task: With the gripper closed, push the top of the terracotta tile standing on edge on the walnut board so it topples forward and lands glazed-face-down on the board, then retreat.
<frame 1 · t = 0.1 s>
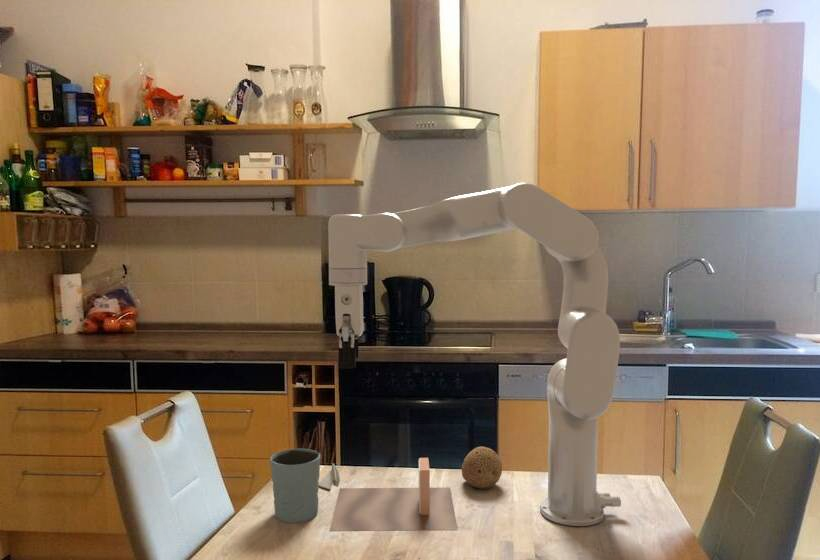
hand: (349, 363, 127), 31 cm above the table, tool pointing down, fingers open, 9 cm apart
tile: (424, 507, 130), point 1 cm above the table, touching board
natural sponge: (481, 493, 141), on the table
board: (394, 514, 130), on the table
ceramic fragment: (333, 485, 146), on the table
grey green cup: (296, 514, 130), on the table
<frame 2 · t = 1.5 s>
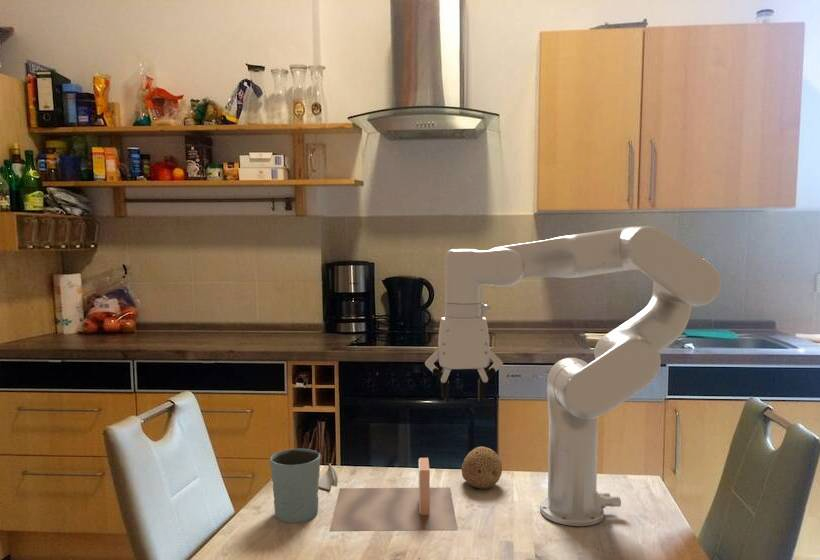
hand: (463, 399, 128), 24 cm above the table, tool pointing down, fingers open, 6 cm apart
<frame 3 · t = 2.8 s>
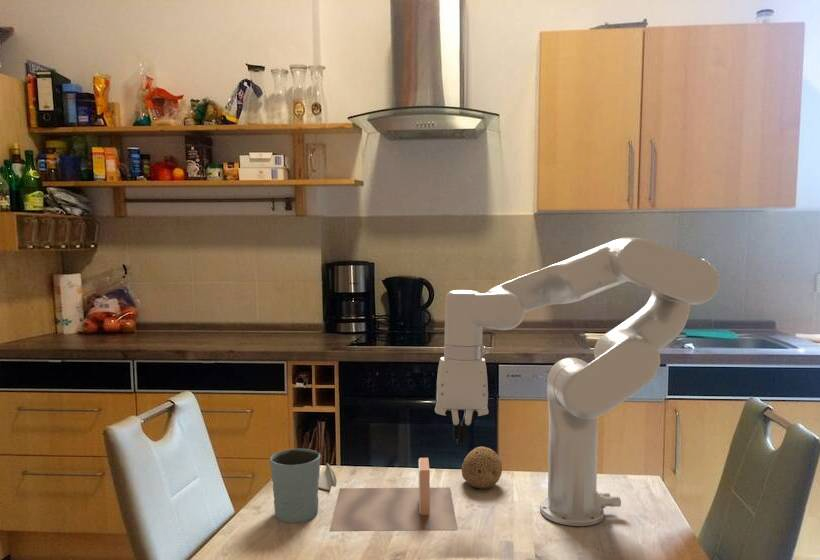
hand: (460, 442, 129), 15 cm above the table, tool pointing down, fingers closed
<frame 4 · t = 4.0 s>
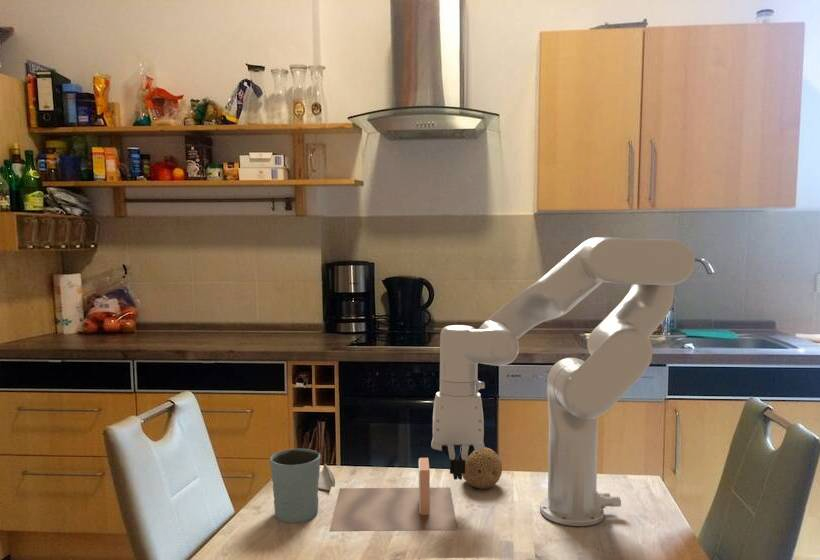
hand: (457, 476, 129), 8 cm above the table, tool pointing down, fingers closed
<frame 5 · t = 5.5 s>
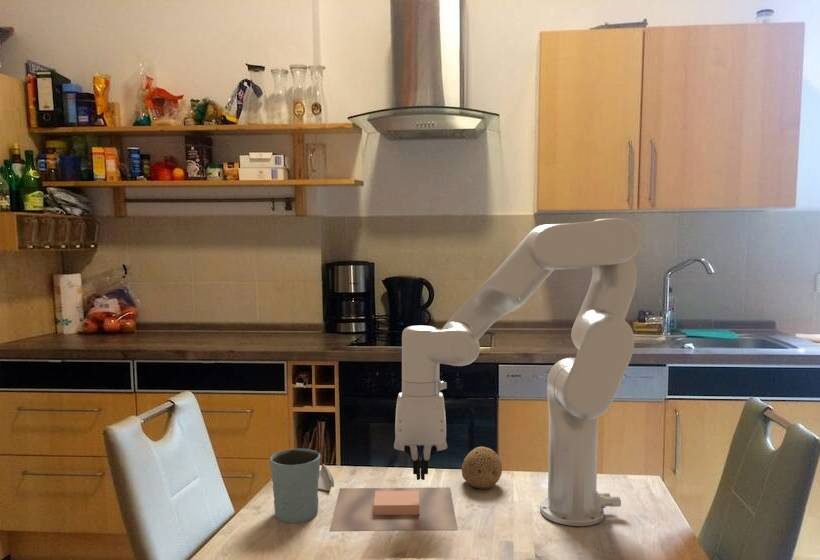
hand: (420, 477, 129), 8 cm above the table, tool pointing down, fingers closed
tile: (419, 502, 129), point 2 cm above the table, tilted 90°, touching board
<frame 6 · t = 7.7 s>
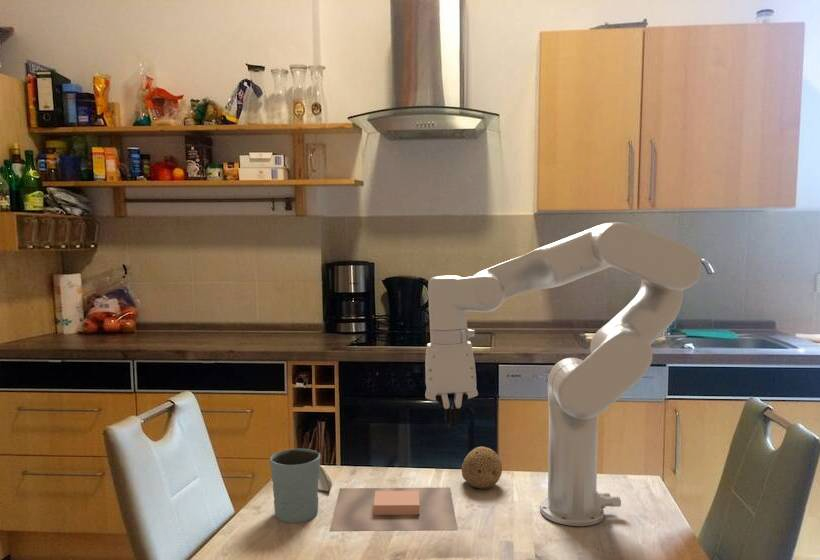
hand: (452, 425, 130), 18 cm above the table, tool pointing down, fingers closed
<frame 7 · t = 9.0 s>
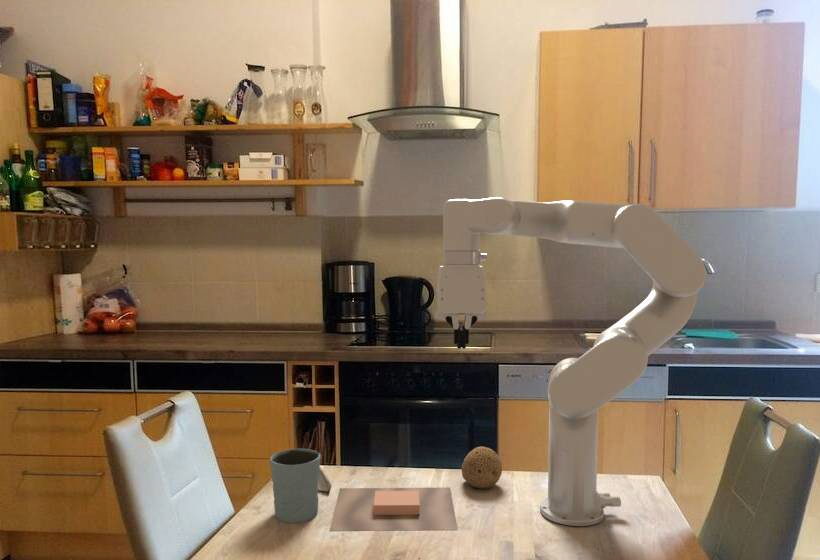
hand: (461, 347, 133), 33 cm above the table, tool pointing down, fingers closed
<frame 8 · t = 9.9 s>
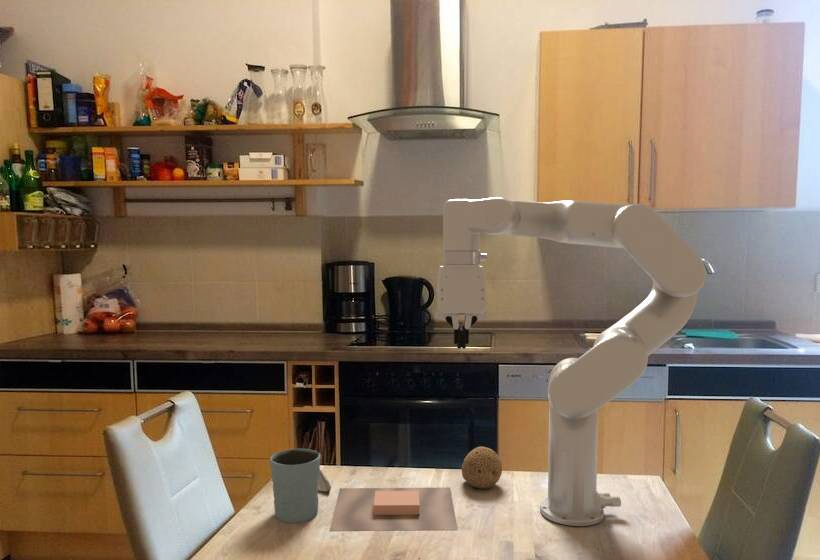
hand: (461, 347, 133), 33 cm above the table, tool pointing down, fingers closed
at the end: tile tilted 90°; tile inside the target area (6.5 cm from its centre), point 2.5 cm above the table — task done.
